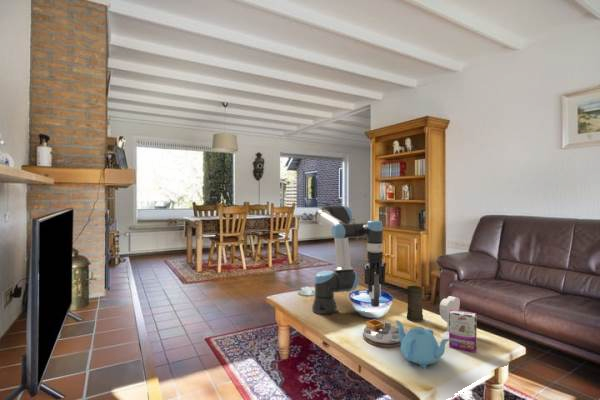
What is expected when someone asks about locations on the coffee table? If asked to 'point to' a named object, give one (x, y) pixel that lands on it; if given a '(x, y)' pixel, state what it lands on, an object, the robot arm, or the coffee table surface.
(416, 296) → the container
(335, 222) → the robot arm
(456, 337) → the candy bar box
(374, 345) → the nut base
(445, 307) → the heart sculpture
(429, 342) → the teapot
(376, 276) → the steel pin
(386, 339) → the lugged metal disc
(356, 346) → the coffee table surface
